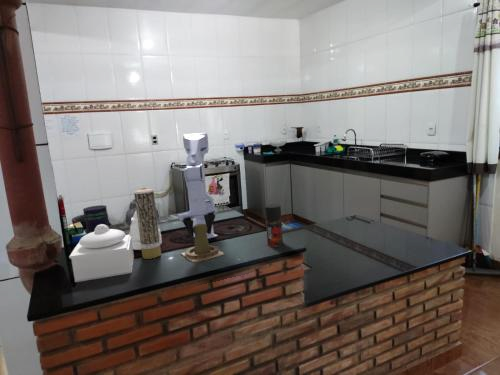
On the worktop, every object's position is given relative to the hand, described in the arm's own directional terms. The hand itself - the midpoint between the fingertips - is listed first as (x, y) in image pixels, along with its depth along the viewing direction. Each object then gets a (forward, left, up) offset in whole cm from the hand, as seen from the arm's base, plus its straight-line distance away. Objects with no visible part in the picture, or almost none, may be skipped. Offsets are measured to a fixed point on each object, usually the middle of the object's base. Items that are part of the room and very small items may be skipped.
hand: (200, 235), depth 132 cm
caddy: (0, 0, -7) cm, 7 cm away
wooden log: (-12, -15, -7) cm, 21 cm away
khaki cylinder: (0, 0, -7) cm, 7 cm away
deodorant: (+10, +26, -7) cm, 29 cm away
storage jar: (-53, -26, -7) cm, 59 cm away
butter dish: (-12, -31, -8) cm, 34 cm away
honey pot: (-29, -12, -8) cm, 32 cm away
